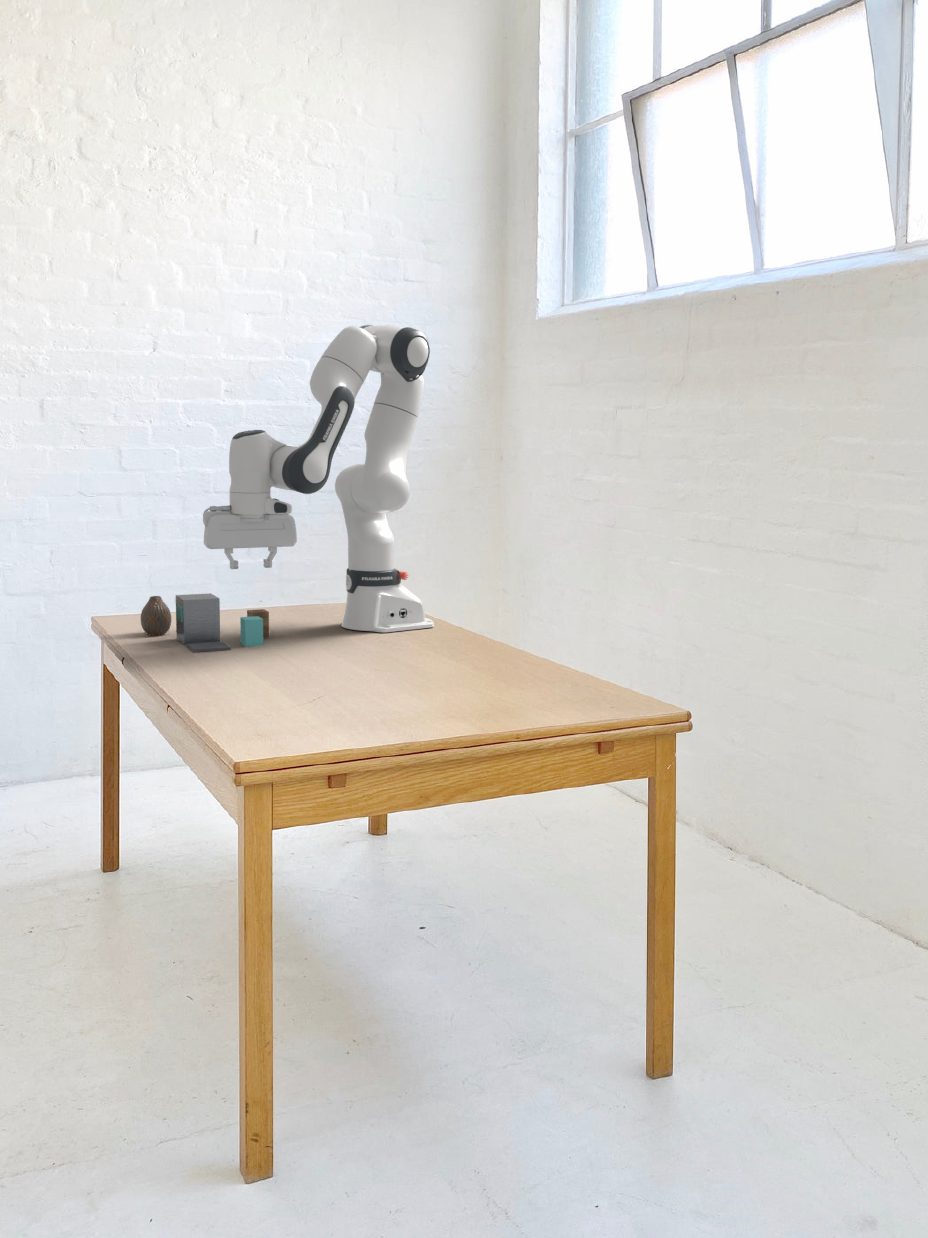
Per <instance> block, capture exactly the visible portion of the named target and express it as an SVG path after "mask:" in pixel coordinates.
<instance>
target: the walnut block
mask: <svg viewBox="0 0 928 1238" xmlns="http://www.w3.org/2000/svg"><path fill="white" fill-rule="evenodd" d="M252 616H259V617H260V618H262V619H263V639H265V638H266V639H267V638H270V612H269V610H266V609H264V608H262V609H261V608H260V609H259V608H258V609H246V617H252Z"/></svg>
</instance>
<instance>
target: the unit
mask: <svg viewBox="0 0 928 1238" xmlns="http://www.w3.org/2000/svg"><path fill="white" fill-rule="evenodd" d="M220 599H221V598H219V597H218V596H216V595H214V594H213V593H192V594H191V593H190V594H175V622H176V623H175V624H176V625H175V626H176V627H175V630H176V634H175V635H176V639H177V641H178V642H180V643H181V644H183V646H185V645H186V644H192V643H207V642H221V620H220V619H221V614H220V613H221V609H220V607H221V606H220V605H221V604H220V603H221V602H220ZM186 646H187V645H186Z"/></svg>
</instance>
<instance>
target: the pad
mask: <svg viewBox="0 0 928 1238" xmlns="http://www.w3.org/2000/svg"><path fill="white" fill-rule="evenodd" d="M186 647H187V648H188V649H189V650H190V651H191V652H192V653H205V652H219V651H231V650H232V649H231V648H232V647H231V646H230V645H228V644H227V643H226V642H224V641H223V640H222V641H220V642H207V643H192V644H186Z"/></svg>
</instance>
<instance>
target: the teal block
mask: <svg viewBox="0 0 928 1238" xmlns="http://www.w3.org/2000/svg"><path fill="white" fill-rule="evenodd" d="M239 618H240V619H239V620H240V621H239V622H240V644H241V645H242V646H244V647H246V648H247V647H263V646H264V638H263V619H262V618H260V617H259V616H252V617H247V616H240V617H239Z"/></svg>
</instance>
